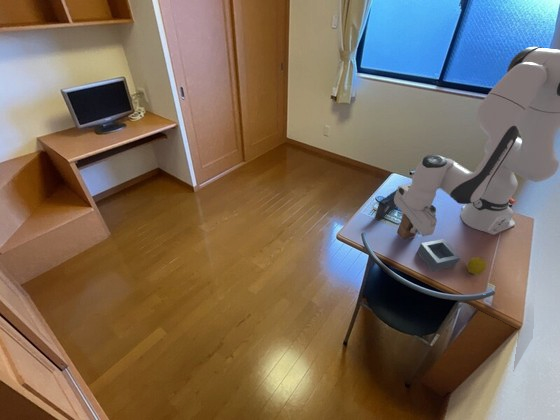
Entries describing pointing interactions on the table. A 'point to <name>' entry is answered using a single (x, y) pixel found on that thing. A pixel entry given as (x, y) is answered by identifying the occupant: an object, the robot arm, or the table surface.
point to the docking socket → (438, 254)
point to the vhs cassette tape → (386, 206)
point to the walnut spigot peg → (405, 228)
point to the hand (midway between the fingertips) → (407, 226)
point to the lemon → (476, 265)
